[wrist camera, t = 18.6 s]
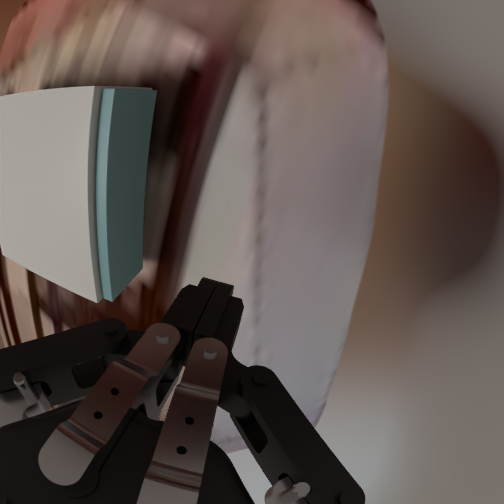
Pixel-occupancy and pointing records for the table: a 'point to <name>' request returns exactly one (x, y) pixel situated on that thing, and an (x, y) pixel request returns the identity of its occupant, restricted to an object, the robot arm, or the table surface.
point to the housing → (52, 184)
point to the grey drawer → (122, 184)
